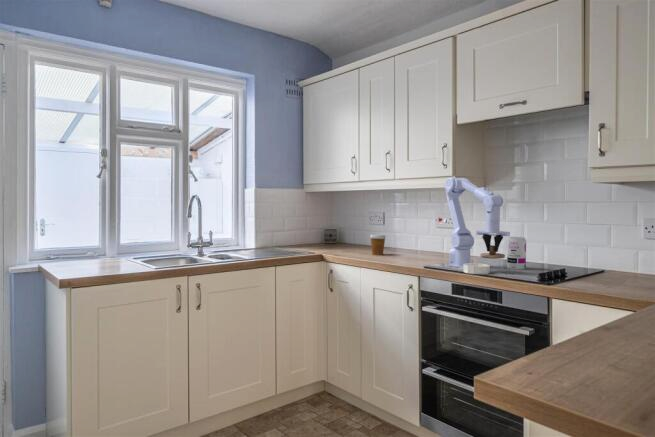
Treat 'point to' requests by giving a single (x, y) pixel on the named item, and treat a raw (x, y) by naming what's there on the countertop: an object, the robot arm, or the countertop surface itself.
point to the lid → (492, 253)
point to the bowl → (476, 268)
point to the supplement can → (516, 253)
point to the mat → (503, 270)
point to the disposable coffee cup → (377, 243)
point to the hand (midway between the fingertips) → (492, 251)
